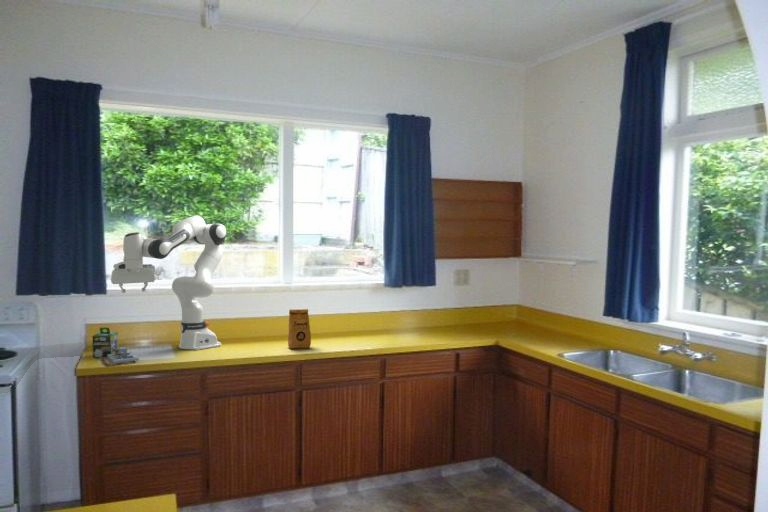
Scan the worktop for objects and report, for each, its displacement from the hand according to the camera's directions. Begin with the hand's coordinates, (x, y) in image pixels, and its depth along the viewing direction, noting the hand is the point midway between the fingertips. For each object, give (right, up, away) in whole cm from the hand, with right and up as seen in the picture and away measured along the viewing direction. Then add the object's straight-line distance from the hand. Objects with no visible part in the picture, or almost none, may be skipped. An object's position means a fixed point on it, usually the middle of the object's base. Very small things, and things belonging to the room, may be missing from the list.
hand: (133, 292), depth 275 cm
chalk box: (-16, -33, +4) cm, 37 cm away
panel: (-2, -32, -6) cm, 33 cm away
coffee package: (+79, -34, +31) cm, 91 cm away
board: (-4, -34, -8) cm, 35 cm away
